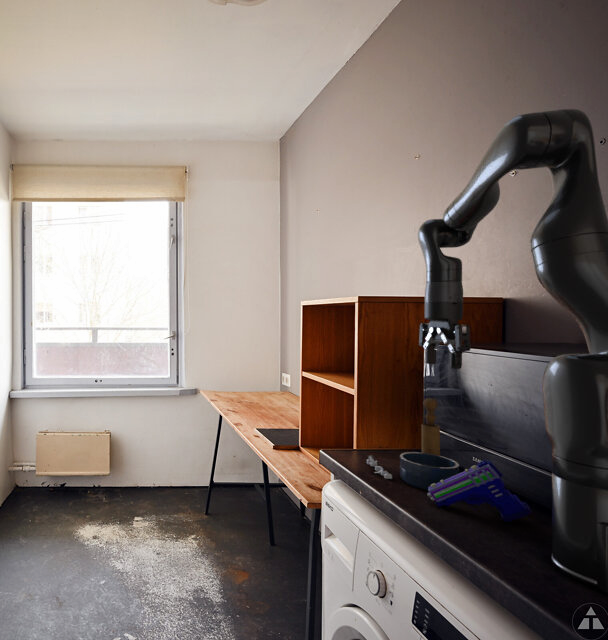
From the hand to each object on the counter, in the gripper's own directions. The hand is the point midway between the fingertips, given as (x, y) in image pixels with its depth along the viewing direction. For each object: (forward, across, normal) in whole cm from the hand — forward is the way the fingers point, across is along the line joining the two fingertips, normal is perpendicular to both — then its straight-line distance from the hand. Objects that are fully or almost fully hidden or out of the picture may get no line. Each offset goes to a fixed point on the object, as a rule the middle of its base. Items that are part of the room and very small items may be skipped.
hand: (442, 366), depth 101 cm
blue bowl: (+27, +6, -7) cm, 28 cm away
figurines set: (+27, -2, -14) cm, 31 cm away
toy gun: (+27, +21, -7) cm, 35 cm away
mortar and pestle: (+27, -5, +1) cm, 28 cm away
